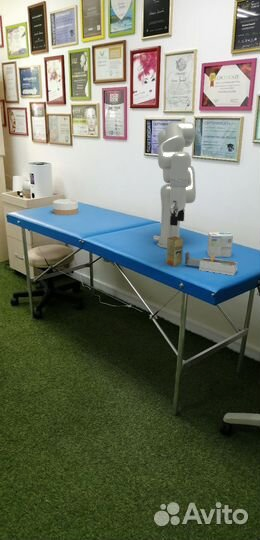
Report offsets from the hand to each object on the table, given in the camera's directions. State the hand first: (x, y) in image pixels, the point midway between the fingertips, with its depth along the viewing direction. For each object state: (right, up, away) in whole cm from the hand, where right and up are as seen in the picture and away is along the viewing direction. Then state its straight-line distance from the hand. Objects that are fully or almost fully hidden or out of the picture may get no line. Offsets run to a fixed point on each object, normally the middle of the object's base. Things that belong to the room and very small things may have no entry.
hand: (177, 223), depth 176 cm
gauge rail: (+18, -21, -1) cm, 27 cm away
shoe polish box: (-1, -18, +7) cm, 19 cm away
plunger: (+10, -18, +2) cm, 21 cm away
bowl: (-66, +19, +107) cm, 127 cm away
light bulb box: (+23, -13, +20) cm, 33 cm away
